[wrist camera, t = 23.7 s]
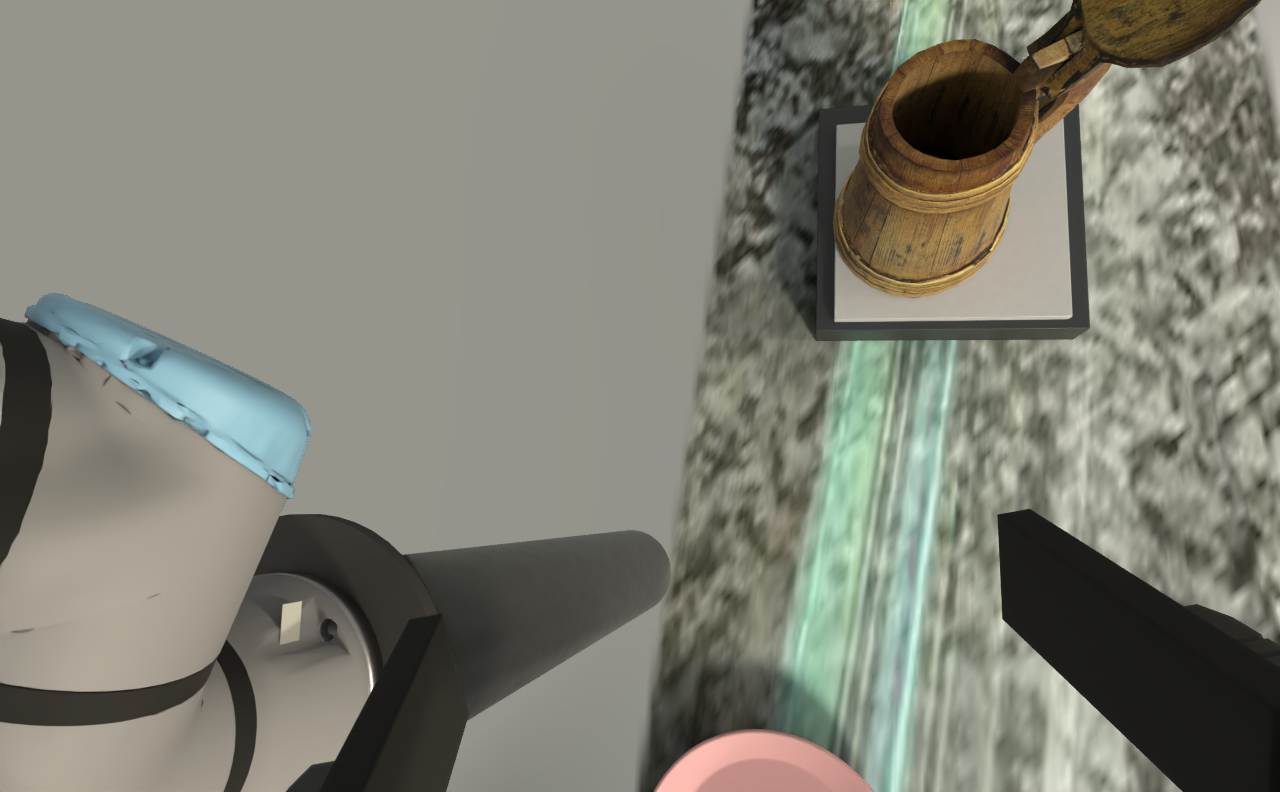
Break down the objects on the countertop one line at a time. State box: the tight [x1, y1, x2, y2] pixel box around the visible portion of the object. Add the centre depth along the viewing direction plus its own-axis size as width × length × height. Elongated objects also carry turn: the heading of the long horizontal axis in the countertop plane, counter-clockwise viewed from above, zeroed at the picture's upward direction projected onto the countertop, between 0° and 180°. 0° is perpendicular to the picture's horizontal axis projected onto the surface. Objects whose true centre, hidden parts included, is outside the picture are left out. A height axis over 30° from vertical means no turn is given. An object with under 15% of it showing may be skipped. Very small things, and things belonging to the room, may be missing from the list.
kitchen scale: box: [816, 95, 1090, 341], centre depth 39 cm, size 14×14×3 cm
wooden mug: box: [833, 0, 1261, 298], centre depth 29 cm, size 9×14×18 cm, turn 106°
